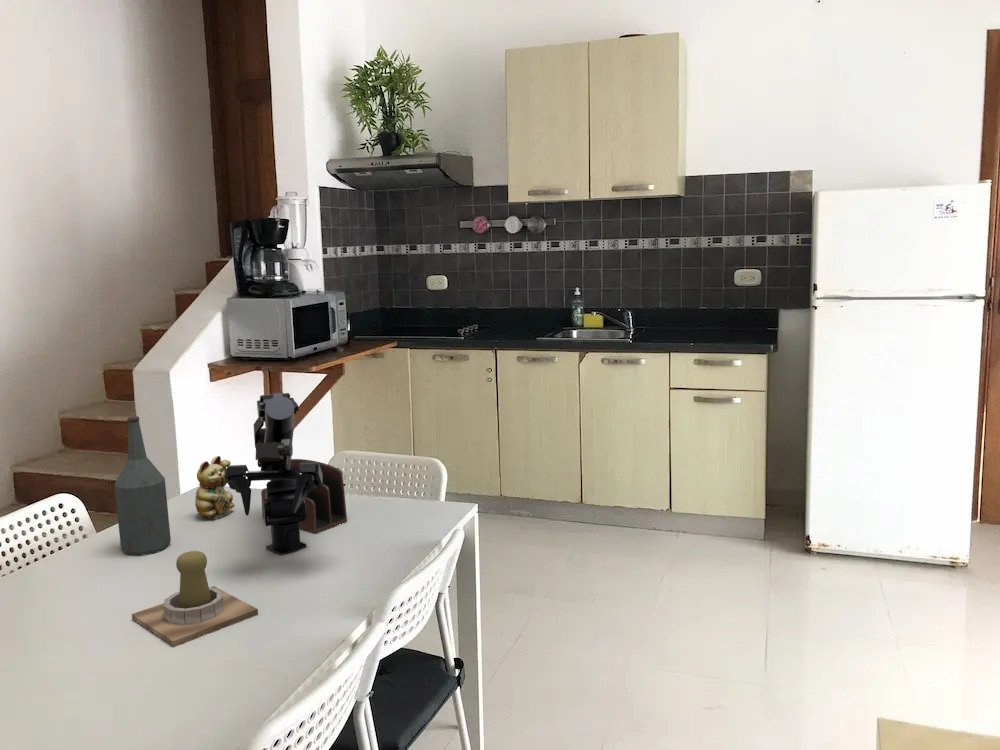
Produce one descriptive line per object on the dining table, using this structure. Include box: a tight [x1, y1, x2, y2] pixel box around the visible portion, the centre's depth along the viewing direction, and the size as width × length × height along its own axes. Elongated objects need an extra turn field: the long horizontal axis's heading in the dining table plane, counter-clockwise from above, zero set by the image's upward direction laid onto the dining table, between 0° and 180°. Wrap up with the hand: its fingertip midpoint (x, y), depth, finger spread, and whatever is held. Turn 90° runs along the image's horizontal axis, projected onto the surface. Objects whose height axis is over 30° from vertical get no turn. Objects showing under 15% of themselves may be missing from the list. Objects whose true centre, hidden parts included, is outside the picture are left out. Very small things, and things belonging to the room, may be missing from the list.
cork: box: [175, 550, 212, 609], centre depth 151 cm, size 6×6×11 cm
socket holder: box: [131, 585, 259, 647], centre depth 152 cm, size 16×16×4 cm
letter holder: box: [260, 458, 348, 535], centre depth 202 cm, size 10×20×14 cm, turn 52°
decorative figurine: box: [194, 455, 235, 520], centre depth 208 cm, size 10×8×15 cm
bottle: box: [114, 415, 172, 556], centre depth 185 cm, size 10×10×30 cm
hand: (270, 513), depth 166 cm, fingers open, 9 cm apart
